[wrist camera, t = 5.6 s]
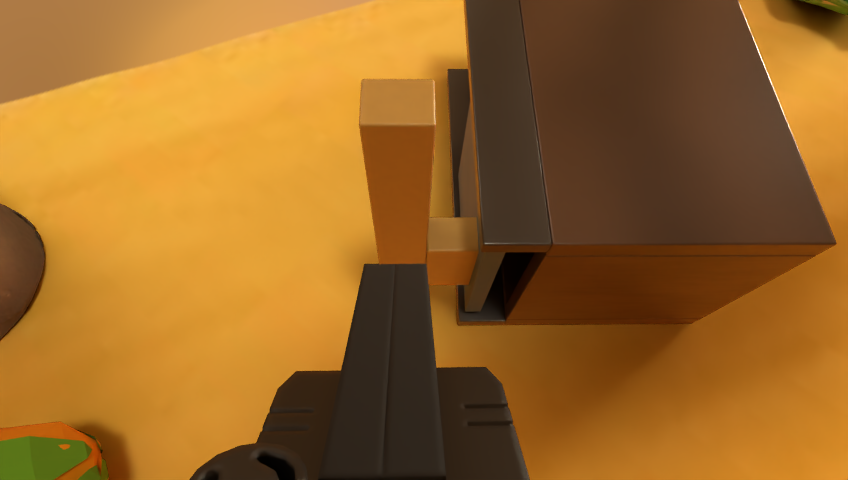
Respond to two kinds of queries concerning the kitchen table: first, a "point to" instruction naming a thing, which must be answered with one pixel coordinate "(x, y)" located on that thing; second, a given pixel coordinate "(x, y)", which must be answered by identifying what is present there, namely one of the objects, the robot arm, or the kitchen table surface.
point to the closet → (626, 161)
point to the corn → (50, 453)
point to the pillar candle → (17, 266)
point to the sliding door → (420, 189)
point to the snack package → (831, 5)
